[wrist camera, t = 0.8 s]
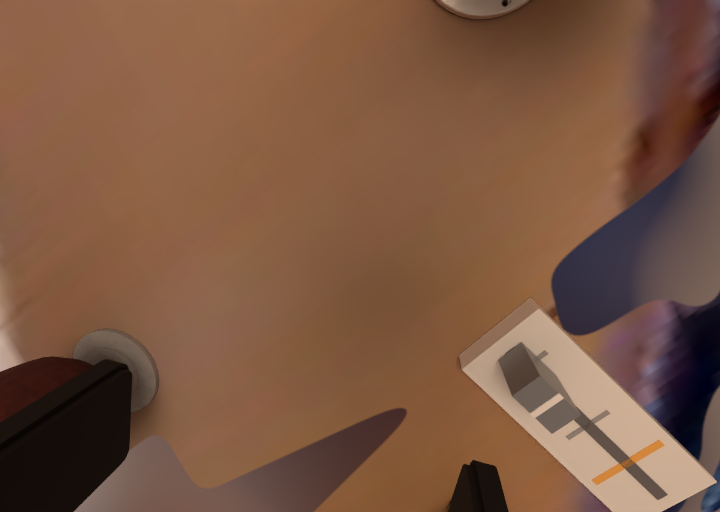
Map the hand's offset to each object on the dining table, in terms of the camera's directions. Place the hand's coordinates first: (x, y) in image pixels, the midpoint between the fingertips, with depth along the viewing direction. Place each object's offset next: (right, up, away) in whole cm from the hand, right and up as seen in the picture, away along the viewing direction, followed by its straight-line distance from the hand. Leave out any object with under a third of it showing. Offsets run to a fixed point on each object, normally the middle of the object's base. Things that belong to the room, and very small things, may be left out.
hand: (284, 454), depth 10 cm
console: (+26, -11, +31) cm, 42 cm away
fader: (+19, -6, +28) cm, 34 cm away
